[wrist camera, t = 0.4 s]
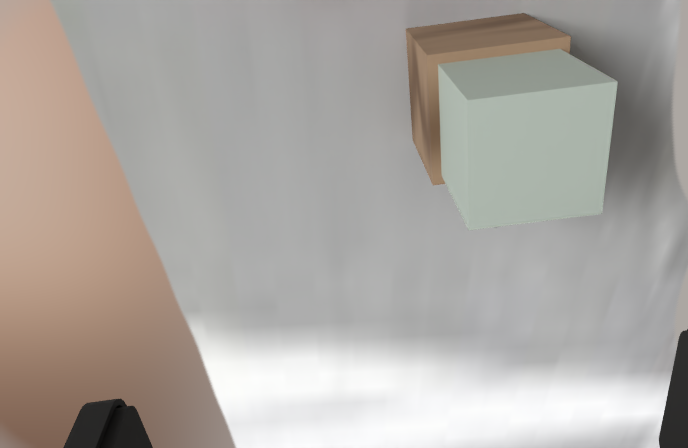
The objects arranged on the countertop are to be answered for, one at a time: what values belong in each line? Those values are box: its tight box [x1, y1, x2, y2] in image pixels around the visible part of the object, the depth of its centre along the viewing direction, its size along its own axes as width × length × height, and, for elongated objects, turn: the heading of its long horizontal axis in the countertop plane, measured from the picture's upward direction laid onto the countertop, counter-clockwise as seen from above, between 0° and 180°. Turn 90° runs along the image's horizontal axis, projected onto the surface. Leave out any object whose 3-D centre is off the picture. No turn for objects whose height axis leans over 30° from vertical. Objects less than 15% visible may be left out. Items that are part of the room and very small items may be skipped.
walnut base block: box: [406, 13, 571, 185], centre depth 33 cm, size 7×7×7 cm
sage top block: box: [438, 49, 618, 230], centre depth 27 cm, size 6×6×6 cm
